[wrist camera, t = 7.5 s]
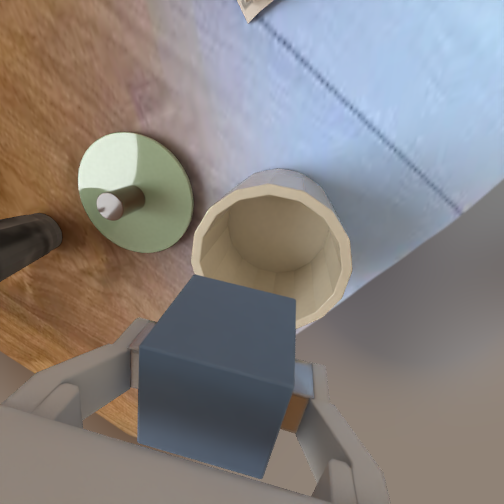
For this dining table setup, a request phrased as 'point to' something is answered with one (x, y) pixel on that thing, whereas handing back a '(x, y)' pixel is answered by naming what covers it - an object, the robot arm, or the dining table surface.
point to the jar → (277, 242)
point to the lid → (135, 192)
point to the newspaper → (252, 7)
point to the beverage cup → (26, 241)
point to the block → (218, 375)
